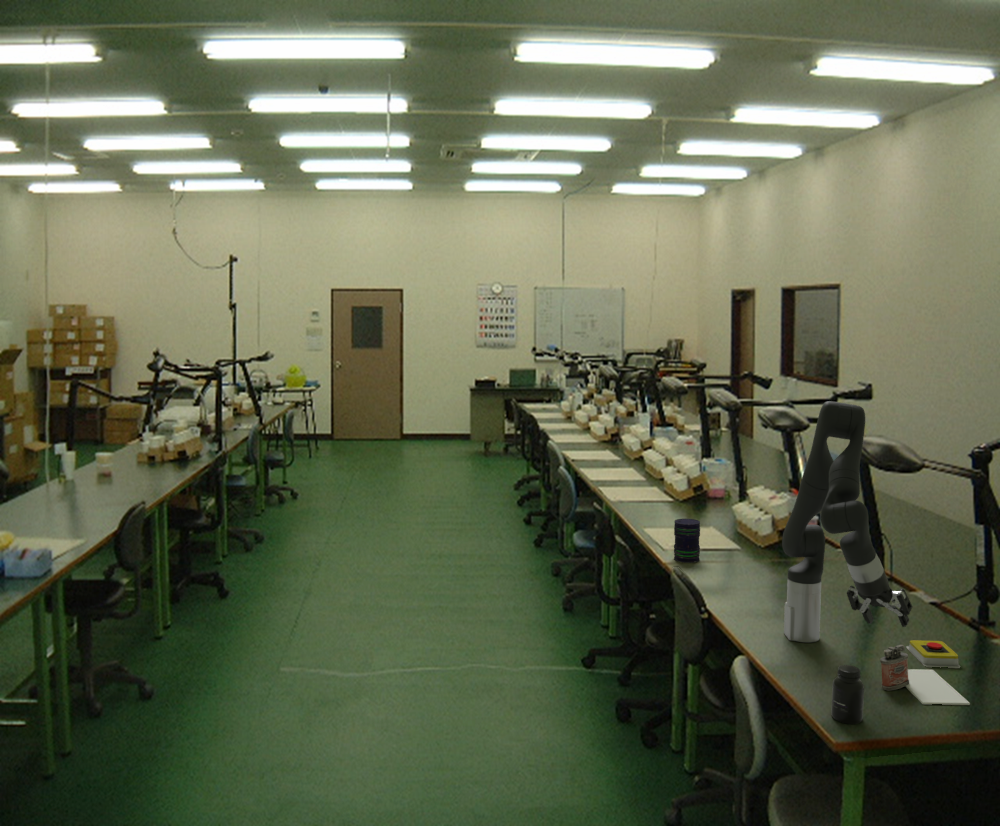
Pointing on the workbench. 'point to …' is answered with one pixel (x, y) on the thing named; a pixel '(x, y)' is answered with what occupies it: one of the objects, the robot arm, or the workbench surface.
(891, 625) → the workbench surface
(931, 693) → the mat
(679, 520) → the storage jar
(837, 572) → the workbench surface
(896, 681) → the lighter
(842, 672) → the supplement bottle
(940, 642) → the emergency button
